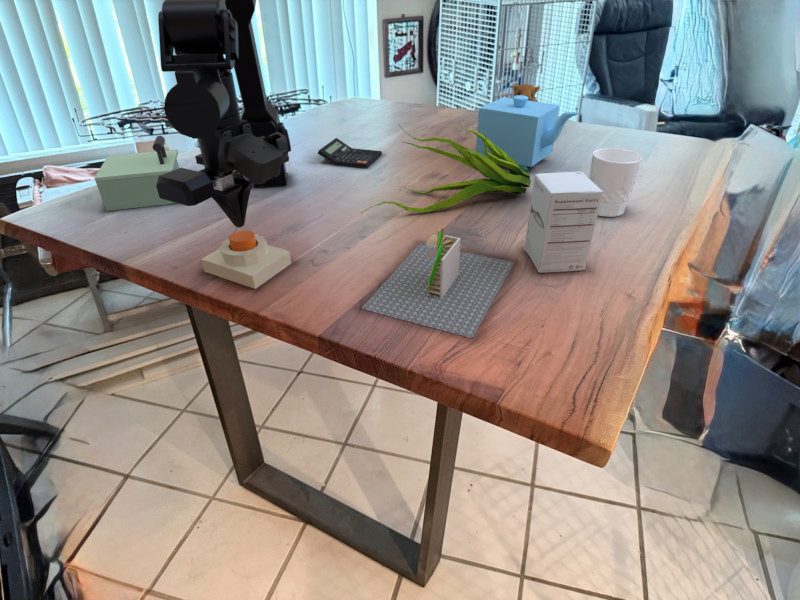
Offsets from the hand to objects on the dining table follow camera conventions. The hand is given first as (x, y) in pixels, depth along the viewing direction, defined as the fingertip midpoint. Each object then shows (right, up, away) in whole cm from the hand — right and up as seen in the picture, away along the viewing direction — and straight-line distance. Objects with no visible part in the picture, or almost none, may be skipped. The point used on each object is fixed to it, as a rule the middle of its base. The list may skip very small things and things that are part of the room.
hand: (239, 226), depth 73 cm
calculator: (+12, +21, +43) cm, 50 cm away
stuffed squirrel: (+52, +30, +54) cm, 81 cm away
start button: (0, -3, +2) cm, 3 cm away
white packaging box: (+46, -5, +5) cm, 47 cm away
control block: (0, -6, +4) cm, 7 cm away
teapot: (+50, +20, +40) cm, 67 cm away
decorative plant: (+32, +7, +22) cm, 40 cm away
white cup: (+60, +6, +19) cm, 63 cm away
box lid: (-27, +15, +24) cm, 39 cm away
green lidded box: (-27, +10, +28) cm, 40 cm away
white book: (+29, -8, 0) cm, 30 cm away
